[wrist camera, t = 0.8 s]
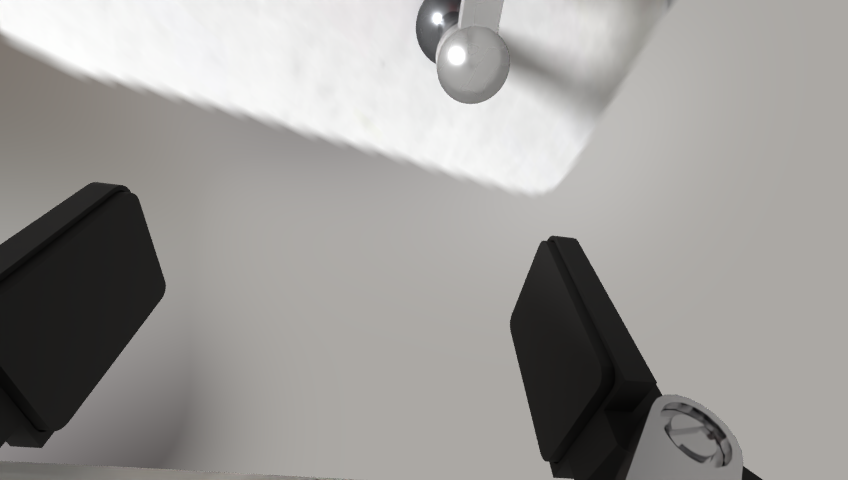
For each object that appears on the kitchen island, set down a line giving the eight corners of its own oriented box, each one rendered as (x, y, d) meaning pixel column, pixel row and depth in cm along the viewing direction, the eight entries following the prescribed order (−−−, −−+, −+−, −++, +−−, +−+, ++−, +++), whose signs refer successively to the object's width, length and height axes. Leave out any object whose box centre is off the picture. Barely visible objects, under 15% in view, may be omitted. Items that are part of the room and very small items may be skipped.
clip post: (420, -21, 31) (419, -15, 20) (495, -11, 31) (534, 0, 20) (412, 61, 34) (409, 105, 23) (480, 69, 35) (508, 115, 24)
